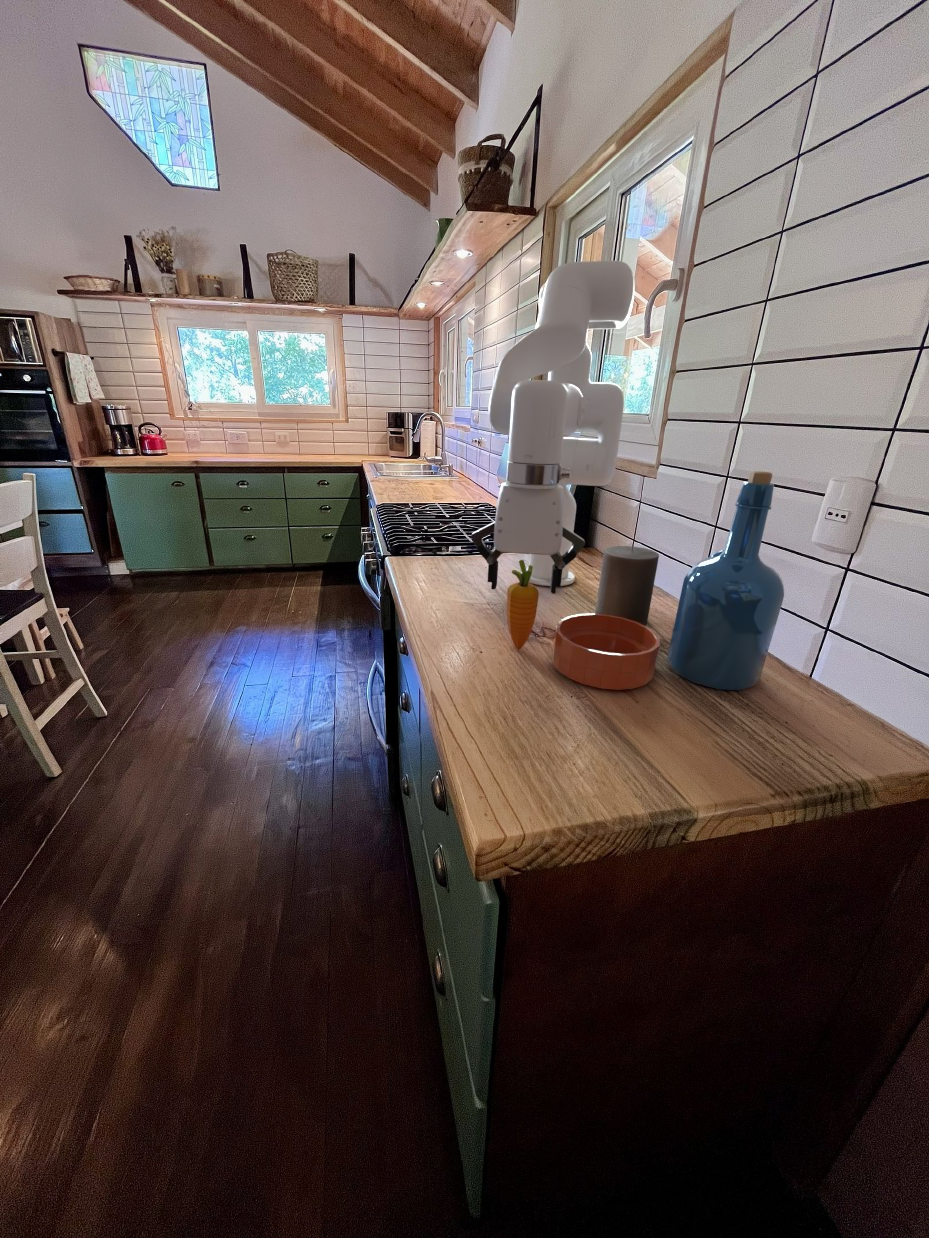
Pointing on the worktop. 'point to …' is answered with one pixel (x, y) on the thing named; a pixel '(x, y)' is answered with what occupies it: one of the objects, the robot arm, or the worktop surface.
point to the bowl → (605, 651)
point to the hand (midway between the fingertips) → (523, 588)
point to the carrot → (521, 606)
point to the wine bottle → (730, 602)
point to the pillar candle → (627, 582)
